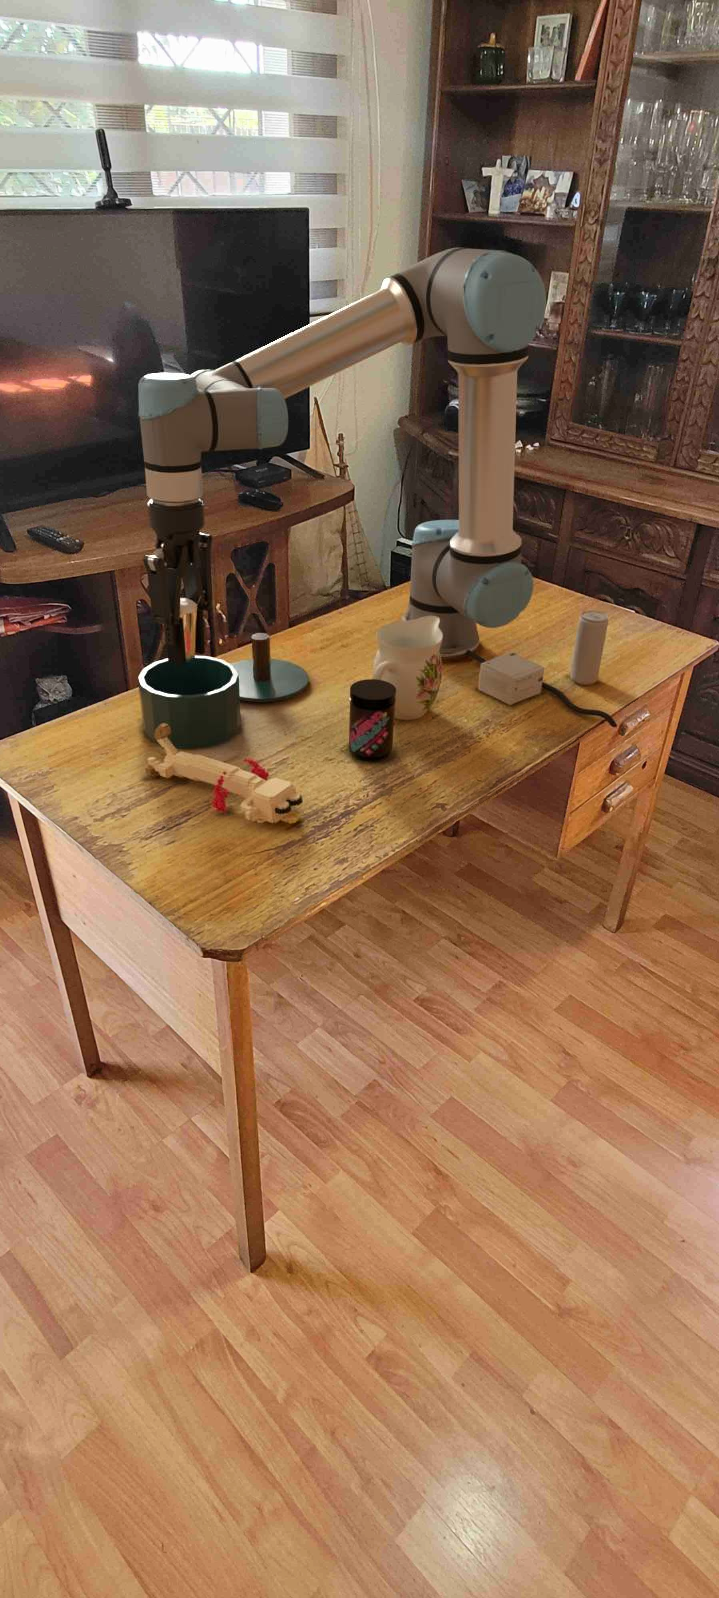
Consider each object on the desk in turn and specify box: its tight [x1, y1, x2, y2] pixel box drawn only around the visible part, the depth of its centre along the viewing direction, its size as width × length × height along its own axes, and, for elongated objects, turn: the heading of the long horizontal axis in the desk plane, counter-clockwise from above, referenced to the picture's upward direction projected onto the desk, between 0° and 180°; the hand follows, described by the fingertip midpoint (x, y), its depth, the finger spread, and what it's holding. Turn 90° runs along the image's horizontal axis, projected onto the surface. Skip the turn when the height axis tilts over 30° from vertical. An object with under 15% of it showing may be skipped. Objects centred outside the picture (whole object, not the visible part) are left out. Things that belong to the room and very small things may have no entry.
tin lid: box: [230, 632, 310, 703], centre depth 156 cm, size 16×16×9 cm
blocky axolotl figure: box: [144, 723, 305, 825], centre depth 126 cm, size 10×9×25 cm
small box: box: [477, 652, 545, 706], centre depth 157 cm, size 8×8×5 cm
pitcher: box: [371, 616, 443, 721], centre depth 147 cm, size 11×18×14 cm, turn 146°
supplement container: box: [348, 678, 396, 762], centre depth 137 cm, size 7×7×10 cm
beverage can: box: [569, 610, 609, 686], centre depth 160 cm, size 5×5×12 cm
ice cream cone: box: [179, 597, 201, 662], centre depth 136 cm, size 4×5×10 cm
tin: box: [137, 655, 242, 749], centre depth 143 cm, size 15×15×8 cm
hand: (186, 656), depth 139 cm, fingers closed on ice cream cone, 4 cm apart
